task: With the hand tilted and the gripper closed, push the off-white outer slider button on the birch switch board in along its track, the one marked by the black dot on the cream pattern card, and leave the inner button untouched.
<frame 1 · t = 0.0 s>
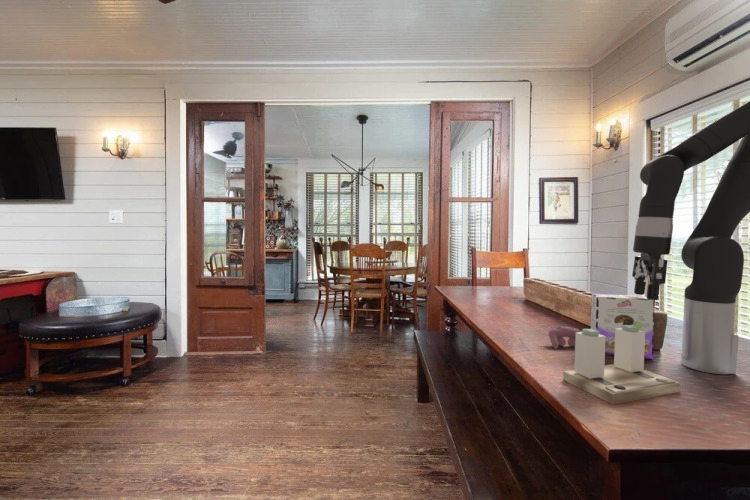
hand: (645, 296, 91), 17 cm above the table, tool pointing down, fingers open, 8 cm apart
candy box: (619, 354, 98), on the table
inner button: (629, 347, 81), point 7 cm above the table, slide at 0.0 cm
switch board: (619, 385, 77), on the table
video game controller: (567, 347, 103), on the table
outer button: (589, 352, 77), point 7 cm above the table, slide at 0.0 cm
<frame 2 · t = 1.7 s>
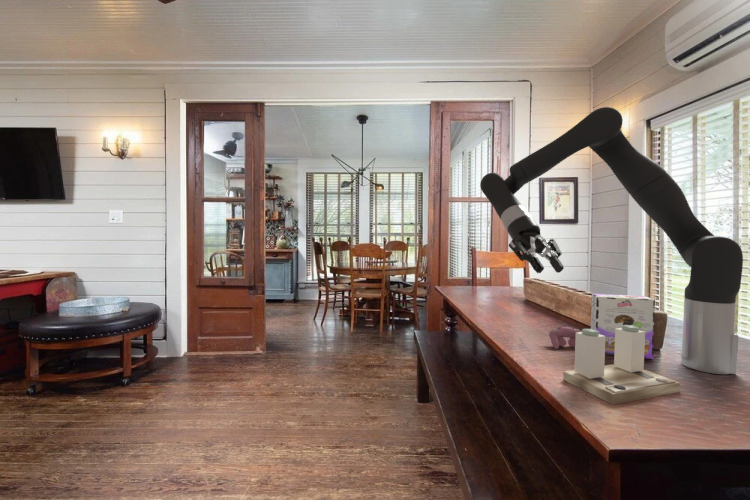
hand: (550, 270, 87), 24 cm above the table, tool tilted 45°, fingers open, 5 cm apart
nothing on the table moved.
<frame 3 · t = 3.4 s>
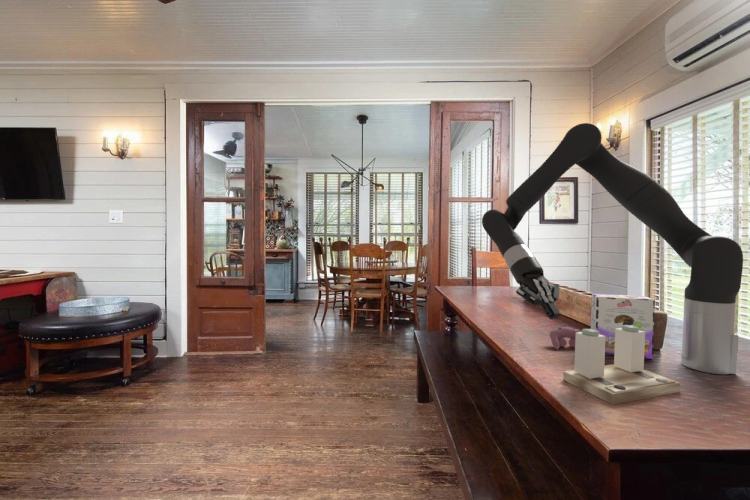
hand: (555, 317, 86), 13 cm above the table, tool tilted 45°, fingers closed
nothing on the table moved.
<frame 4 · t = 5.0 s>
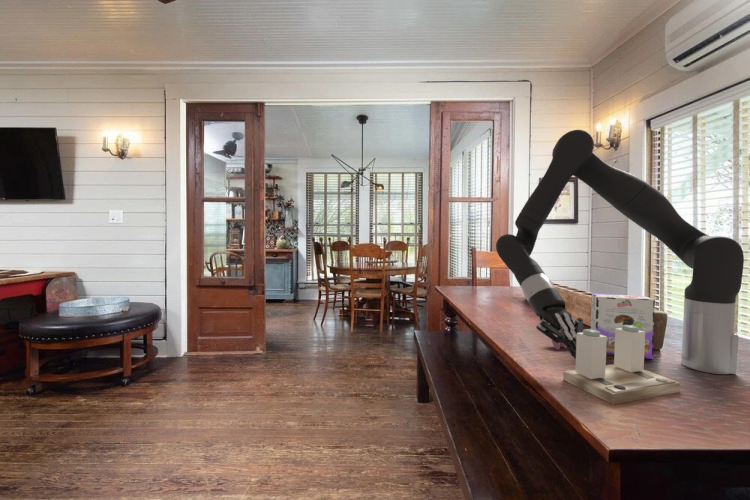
hand: (580, 357, 79), 5 cm above the table, tool tilted 45°, fingers closed
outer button: (590, 352, 77), point 7 cm above the table, slide at 0.3 cm, touching gripper
everything else where it was.
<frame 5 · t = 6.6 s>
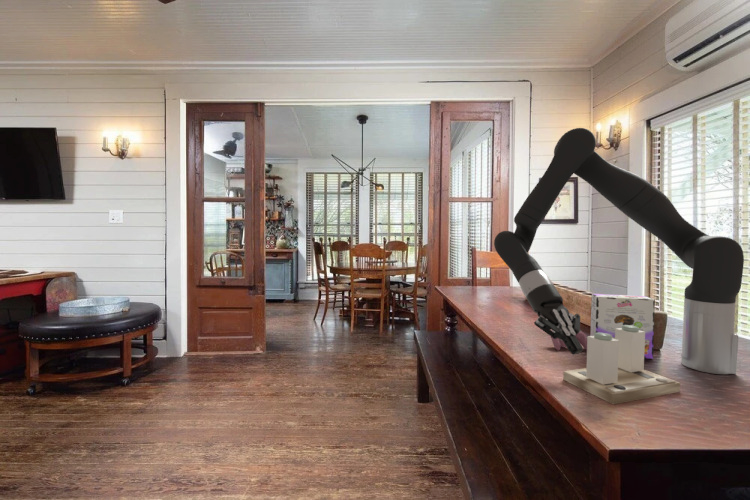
hand: (578, 352, 80), 6 cm above the table, tool tilted 45°, fingers closed
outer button: (602, 357, 74), point 7 cm above the table, slide at 3.0 cm
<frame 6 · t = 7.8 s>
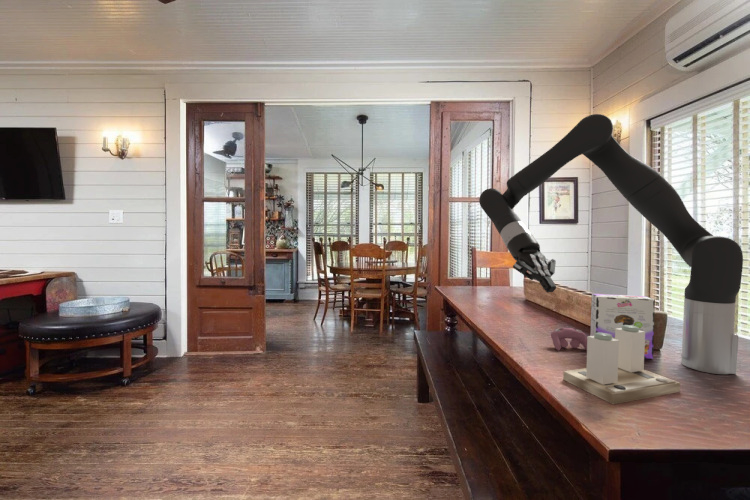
hand: (552, 290, 87), 19 cm above the table, tool tilted 45°, fingers closed
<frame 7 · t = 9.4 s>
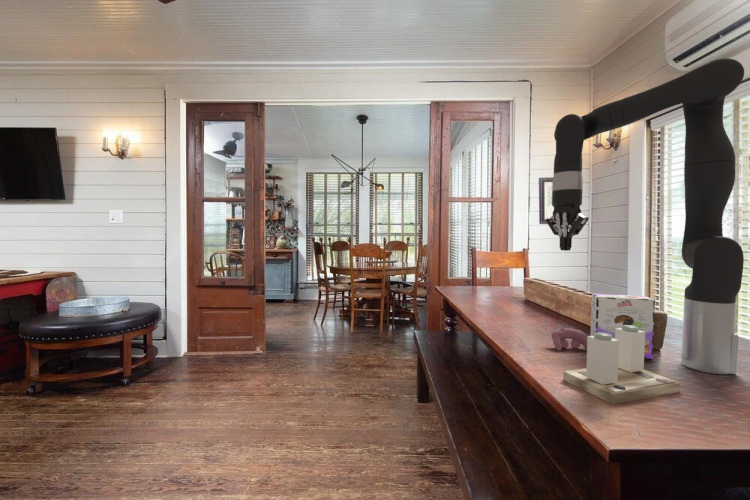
hand: (565, 250, 99), 29 cm above the table, tool pointing down, fingers closed
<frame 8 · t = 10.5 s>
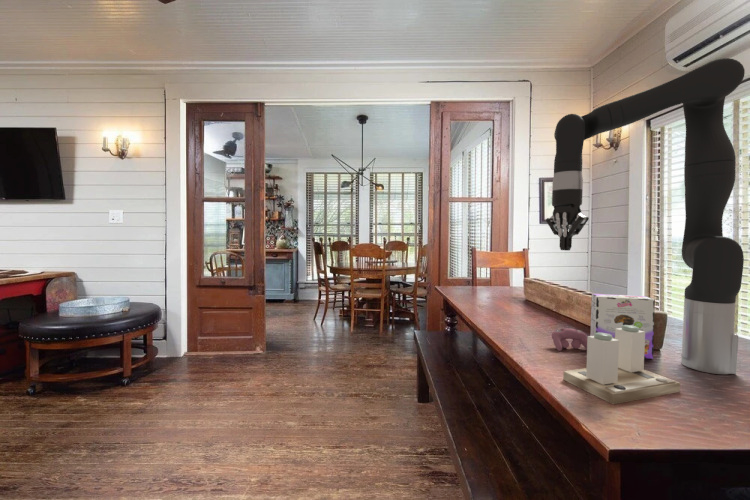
hand: (565, 250, 99), 29 cm above the table, tool pointing down, fingers closed
at the end: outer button slide at 3.0 cm; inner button slide at 0.0 cm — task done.
